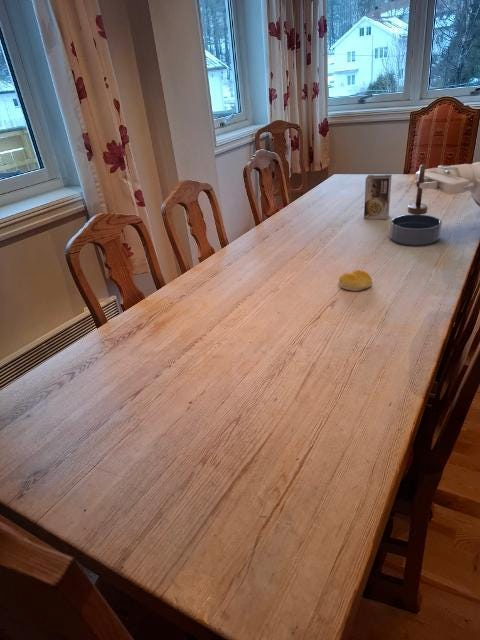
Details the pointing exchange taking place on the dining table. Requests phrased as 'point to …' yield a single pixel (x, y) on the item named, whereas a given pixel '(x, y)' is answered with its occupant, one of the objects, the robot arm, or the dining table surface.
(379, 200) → the coffee box
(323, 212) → the dining table surface
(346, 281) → the bread roll
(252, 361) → the dining table surface
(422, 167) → the wooden peg stand
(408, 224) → the bowl
